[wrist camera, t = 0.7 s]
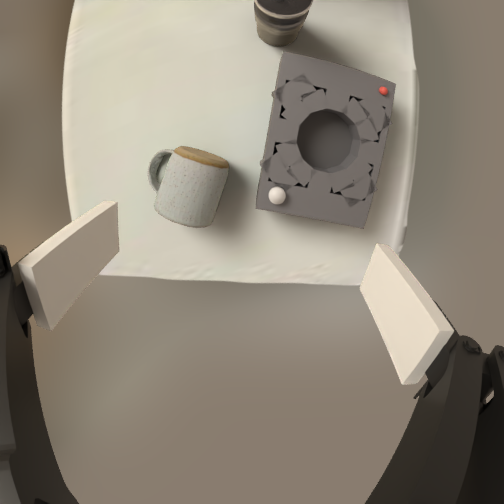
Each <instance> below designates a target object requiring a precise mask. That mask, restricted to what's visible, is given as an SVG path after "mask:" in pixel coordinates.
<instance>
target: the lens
mask: <svg viewBox="0 0 504 504" xmlns="http://www.w3.org/2000/svg"><path fill="white" fill-rule="evenodd" d="M312 2H313V0H255V2H254V10H255V20H256V22H257V33H258V35H259V37H260V38H261V39H262V40H263V41H264V42H265V43H267V44H269V45H272V46H286V45H288V44H290V43H292V42H293V41H294V40H295V39H296V37H297V35H298V33H299V30H300V28H301V27H302V26H303V24H304V22H305V19H306V17H307V15H308V12H309V8H310V7H311V4H312Z"/></svg>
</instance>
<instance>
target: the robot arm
mask: <svg viewBox="0 0 504 504" xmlns="http://www.w3.org/2000/svg"><path fill="white" fill-rule="evenodd" d="M118 252H119V236H118V206H117V202H113V201H104V202H102V203H100V204H99V205H97V206H96V207H94V208H93V209H91V210H89V211H88V212H86V213H85V214H83V215H82V216H80V217H79V218H77V219H76V220H74V221H73V222H71V223H70V224H69V225H67V226H66V227H64V228H63V229H61V230H60V231H59V232H57V233H56V234H55V235H53V236H52V237H50V238H49V239H48V240H46V241H44V242H42V243H41V244H40V245H38V246H37V247H36V248H35V249H33V250H32V251H31V252H30V253H29V254H27V255H26V256H25V257H23V258H22V259H21V260H19V261H18V262H17V263H16V264H15V265H14V266H13V267H11V264H10V260H9V256H8V252H7V248H6V247H5V246H4V245H0V504H79V503H78V502H77V500H76V499H75V497H74V496H73V495H72V493H71V492H70V491H69V490H68V488H67V487H66V484H65V482H64V480H63V478H62V475H61V472H60V469H59V467H58V464H57V461H56V459H55V455H54V452H53V449H52V446H51V443H50V439H49V436H48V432H47V428H46V425H45V421H44V417H43V412H42V408H41V403H40V398H39V393H38V387H37V381H36V374H35V367H34V359H33V349H32V337H31V326H30V322H29V320H28V319H29V318H30V316H31V315H32V314H34V317H35V320H36V323H37V325H38V326H39V327H42V328H44V329H47V330H49V331H52V330H53V328H54V327H55V326H56V325H57V323H58V322H59V321H60V319H61V318H62V317H63V316H64V314H65V313H66V312H67V311H68V309H69V308H70V307H71V305H72V304H73V303H74V302H75V301H76V299H77V298H78V297H79V296H80V295H81V294H82V292H83V291H84V290H85V289H86V288H87V286H88V285H89V284H90V283H91V282H92V281H93V280H94V278H95V277H96V276H97V275H98V274H99V273H100V272H101V270H102V269H103V268H104V267H105V266H106V265H107V264H108V263H109V262H110V261H111V259H112V258H113V257H114V256H115V255H116V254H117V253H118ZM360 290H361V293H362V294H363V297H364V299H365V301H366V303H367V305H368V307H369V309H370V311H371V313H372V316H373V318H374V320H375V322H376V324H377V326H378V329H379V331H380V333H381V335H382V338H383V340H384V342H385V344H386V347H387V349H388V351H389V354H390V355H391V359H392V361H393V363H394V366H395V368H396V371H397V373H398V376H399V378H400V381H401V383H402V385H405V384H417V382H418V381H419V380H420V379H421V378H422V376H423V375H424V374H425V373H426V375H427V378H428V380H427V382H426V383H425V384H424V385H423V387H422V388H421V389H420V390H419V391H418V393H417V394H416V395H415V396H414V399H416V398H417V397H418V396H419V399H418V402H417V404H416V407H415V409H414V412H413V414H412V417H411V419H410V421H409V424H408V426H407V428H406V430H405V433H404V435H403V437H402V439H401V441H400V443H399V445H398V447H397V449H396V451H395V453H394V455H393V457H392V459H391V461H390V463H389V465H388V466H387V468H386V470H385V472H384V473H383V475H382V477H381V479H380V481H379V482H378V484H377V485H376V487H375V489H374V490H373V492H372V493H371V495H370V496H369V498H368V500H367V501H366V503H365V504H504V347H502V346H499V345H497V346H495V347H494V349H493V350H492V352H491V353H490V354H486V353H483V352H482V349H481V347H480V346H479V344H478V343H477V342H476V341H475V340H473V339H472V338H470V337H468V336H459V334H458V333H457V331H456V330H455V328H454V327H453V325H452V324H451V322H450V321H449V320H448V318H446V315H445V314H444V313H443V312H442V310H441V309H440V307H439V306H438V304H437V303H436V302H435V301H434V300H433V299H431V297H430V296H429V295H428V293H427V292H426V291H425V289H424V288H423V287H422V285H421V284H420V283H419V282H418V280H417V279H416V278H415V276H414V275H413V274H412V273H411V272H410V270H409V269H408V268H407V267H406V265H405V264H404V263H403V262H402V260H401V259H400V258H399V257H398V256H397V255H396V253H395V252H394V251H393V250H392V249H391V247H390V246H388V245H383V244H378V243H376V246H375V249H374V252H373V255H372V257H371V260H370V263H369V266H368V268H367V271H366V273H365V276H364V279H363V281H362V284H361V286H360ZM493 390H494V397H493V398H492V399H491V400H490V401H489V402H488V403H487V404H486V398H487V397H488V396H489V395H490V394H491V392H492V391H493Z"/></svg>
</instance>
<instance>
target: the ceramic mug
mask: <svg viewBox="0 0 504 504" xmlns="http://www.w3.org/2000/svg"><path fill="white" fill-rule="evenodd" d="M168 153H172V155H171V157H170V159H169V162H168V164H167V167H166V171H165V174H164V177H163V179H162V182H161V185H159V184H158V181H157V178H156V175H157V173H156V172H157V169H158V167H159V164H160V162H161V161H162V158H163V156H164V155H166V154H168ZM228 172H229V164H228V162H227V161H226V160H225V159H223V158H221V157H218V156H216V155H214V154H211V153H208V152H205V151H202V150H199V149H195V148H191V147H185V146H181V147H178V148H176V149H175V150H168V149H167V150H161V151H159V152H157V153H156V154H155V155H154V157H153V158H152V160H151V162H150V164H149V168H148V180H149V183H150V185H151V187H152V188H153V190H154V191H155V192H156V193H157V196H156V199H155V203H154V208H155V210H156V211H157V212H158V213H159V214H160V215H161V216H163V217H164V218H166V219H168V220H170V221H172V222H175V223H178V224H181V225H185V226H189V227H195V228H199V227H207V226H209V225H211V223H212V221H213V219H214V215H215V212H216V209H217V206H218V203H219V200H220V197H221V194H222V191H223V188H224V186H225V183H226V180H227V177H228Z"/></svg>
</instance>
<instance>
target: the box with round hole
mask: <svg viewBox="0 0 504 504" xmlns="http://www.w3.org/2000/svg"><path fill="white" fill-rule="evenodd" d="M395 86H396V84H395V83H393V82H390V81H388V80H385V79H382V78H380V77H377V76H374V75H371V74H368V73H366V72H363V71H360V70H357V69H353V68H350V67H347V66H344V65H340V64H337V63H333V62H329V61H326V60H322V59H318V58H313V57H309V56H305V55H300V54H295V53H290V52H285V51H283V54H282V57H281V61H280V64H279V70H278V76H277V81H276V87H275V91H273V92H272V97H273V104H272V110H271V116H270V121H269V127H268V133H267V139H266V144H265V150H264V156H263V160H261V161H260V165H261V167H262V168H261V173H260V179H259V185H258V191H257V198H256V209H261V210H267V211H273V212H279V213H284V214H290V215H296V216H301V217H307V218H312V219H317V220H323V221H328V222H333V223H338V224H343V225H348V226H353V227H358V228H363V229H364V226H365V222H366V219H367V216H368V212H369V209H370V205H371V201H372V198H373V194H374V192H375V191H376V190H377V188H376V182H377V178H378V174H379V170H380V166H381V161H382V157H383V153H384V148H385V143H386V138H387V133H388V128H389V125H391V124H392V122H391V121H390V117H391V112H392V106H393V99H394V93H395Z"/></svg>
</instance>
